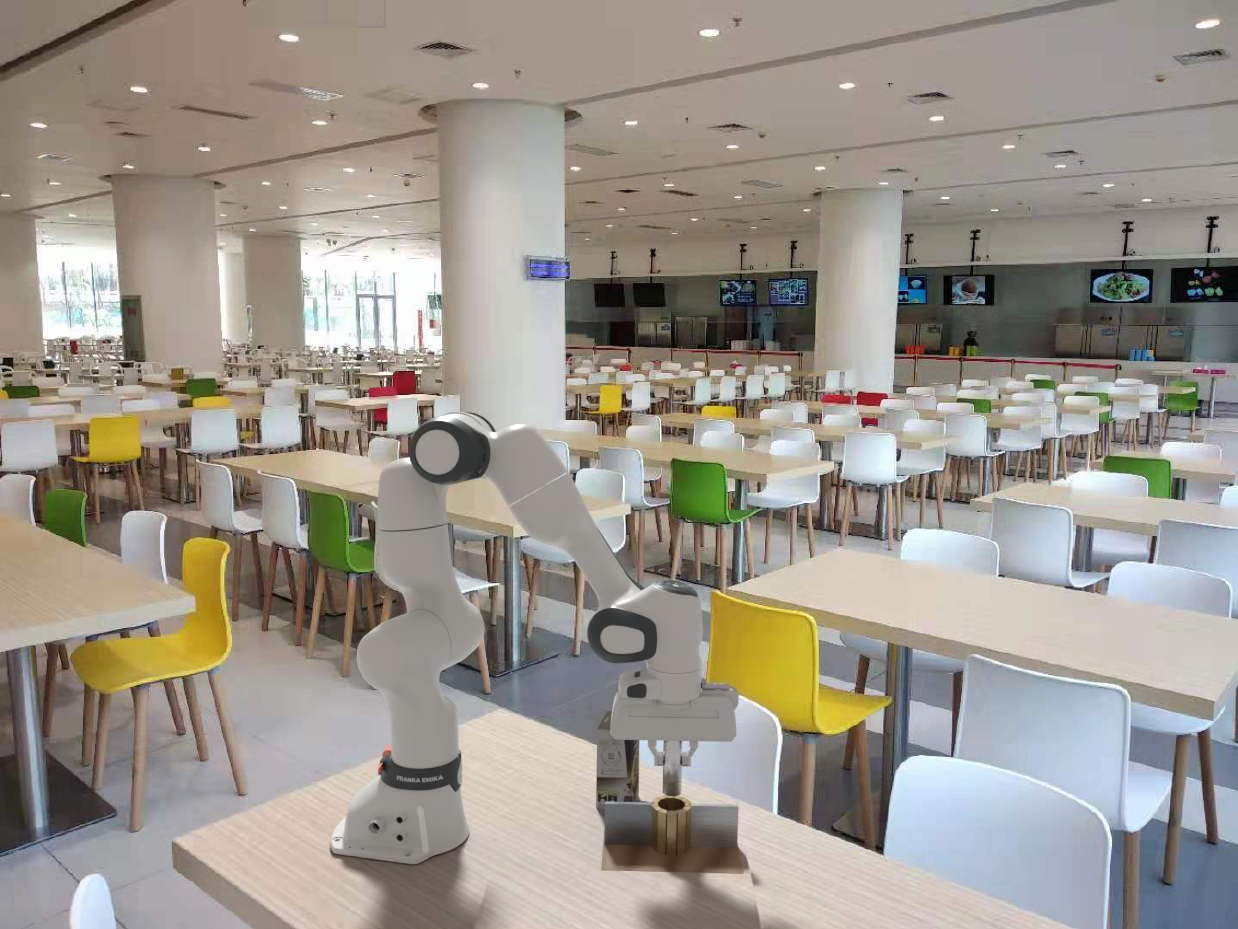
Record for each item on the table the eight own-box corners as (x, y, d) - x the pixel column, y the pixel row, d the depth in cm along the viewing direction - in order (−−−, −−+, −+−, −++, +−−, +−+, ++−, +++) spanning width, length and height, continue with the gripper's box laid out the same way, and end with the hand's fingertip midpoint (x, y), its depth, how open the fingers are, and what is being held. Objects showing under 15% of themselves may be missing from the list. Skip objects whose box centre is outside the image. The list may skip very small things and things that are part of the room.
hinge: (603, 853, 153) (604, 812, 152) (605, 833, 159) (605, 793, 158) (739, 857, 152) (740, 815, 152) (735, 836, 159) (736, 796, 158)
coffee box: (630, 820, 167) (632, 731, 165) (594, 816, 168) (595, 728, 166) (640, 796, 176) (641, 712, 174) (605, 792, 177) (606, 709, 175)
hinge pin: (662, 796, 153) (663, 724, 152) (662, 787, 156) (663, 717, 155) (681, 796, 153) (682, 724, 152) (680, 788, 156) (682, 717, 155)
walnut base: (601, 879, 148) (601, 870, 148) (604, 839, 160) (604, 831, 160) (743, 882, 148) (743, 873, 148) (735, 842, 160) (735, 834, 160)
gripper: (737, 676, 155) (734, 757, 157) (611, 674, 156) (610, 755, 158) (741, 690, 149) (738, 774, 151) (610, 687, 150) (609, 772, 151)
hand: (672, 764), depth 154 cm, fingers closed on hinge pin, 3 cm apart
